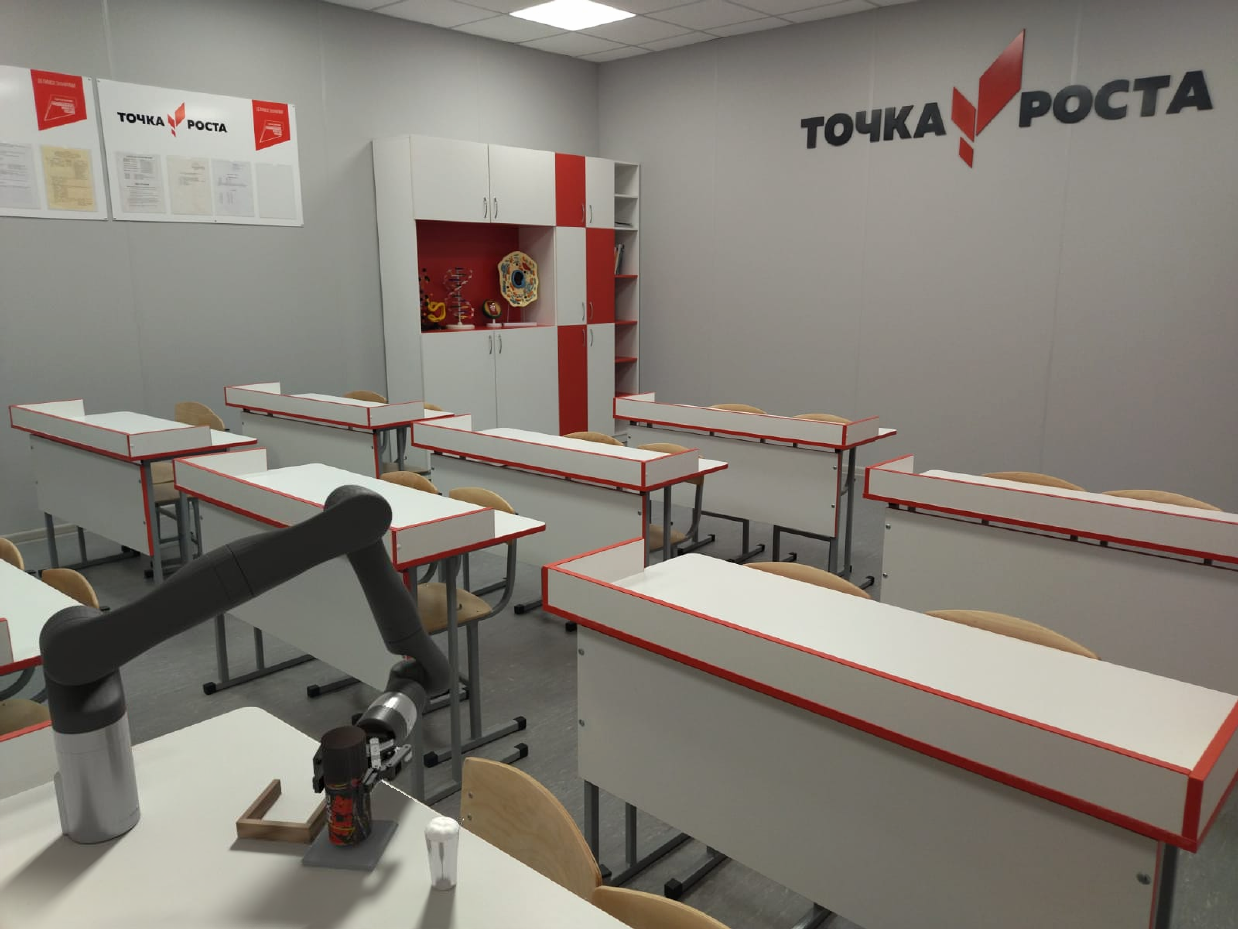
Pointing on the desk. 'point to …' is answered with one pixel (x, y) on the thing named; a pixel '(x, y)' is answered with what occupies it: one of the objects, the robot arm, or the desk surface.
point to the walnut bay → (278, 830)
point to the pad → (351, 849)
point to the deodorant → (346, 785)
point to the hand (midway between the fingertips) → (339, 789)
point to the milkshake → (442, 851)
